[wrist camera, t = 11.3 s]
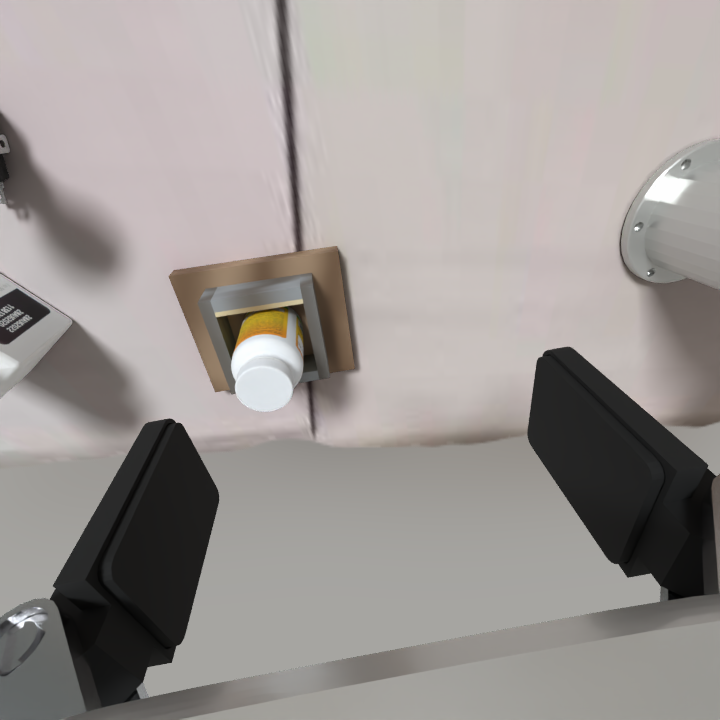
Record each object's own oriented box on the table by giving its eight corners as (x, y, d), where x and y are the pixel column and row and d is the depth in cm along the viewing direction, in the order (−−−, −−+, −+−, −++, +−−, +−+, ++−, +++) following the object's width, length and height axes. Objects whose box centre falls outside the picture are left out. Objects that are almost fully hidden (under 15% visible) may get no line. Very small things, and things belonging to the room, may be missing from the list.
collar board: (336, 245, 33) (341, 261, 29) (353, 360, 39) (358, 386, 35) (173, 270, 32) (156, 290, 28) (218, 383, 38) (209, 411, 34)
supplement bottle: (230, 328, 34) (206, 393, 25) (269, 287, 32) (258, 342, 24) (276, 362, 36) (269, 431, 28) (315, 326, 35) (319, 388, 26)
